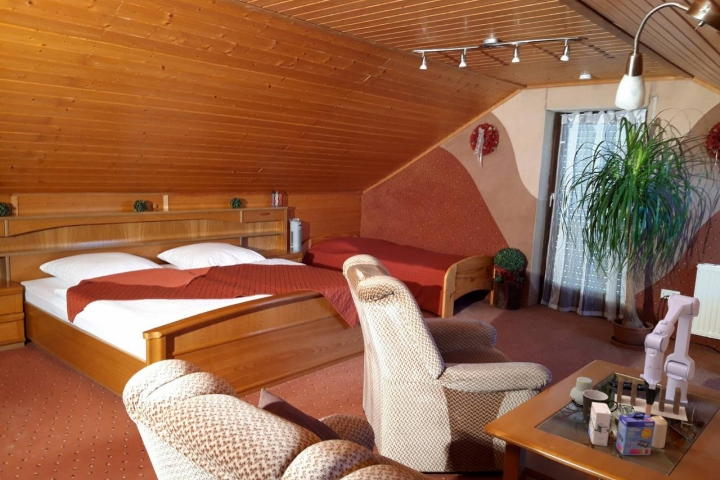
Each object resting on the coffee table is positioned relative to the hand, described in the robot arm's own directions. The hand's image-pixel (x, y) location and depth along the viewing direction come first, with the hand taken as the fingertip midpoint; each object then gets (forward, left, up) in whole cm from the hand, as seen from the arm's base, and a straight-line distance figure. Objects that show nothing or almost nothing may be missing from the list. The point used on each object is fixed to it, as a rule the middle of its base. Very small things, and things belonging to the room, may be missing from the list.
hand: (649, 400), depth 215 cm
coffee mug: (+13, -17, -7) cm, 23 cm away
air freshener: (-1, -23, -7) cm, 24 cm away
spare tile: (0, 0, -7) cm, 7 cm away
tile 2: (-10, +5, -7) cm, 13 cm away
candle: (+21, +2, -7) cm, 22 cm away
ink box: (+27, -16, -7) cm, 32 cm away
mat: (-10, +1, -7) cm, 12 cm away
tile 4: (-10, -5, -7) cm, 13 cm away
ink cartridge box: (+30, -5, -7) cm, 31 cm away
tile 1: (-10, +10, -7) cm, 16 cm away
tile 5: (-10, -10, -7) cm, 16 cm away
